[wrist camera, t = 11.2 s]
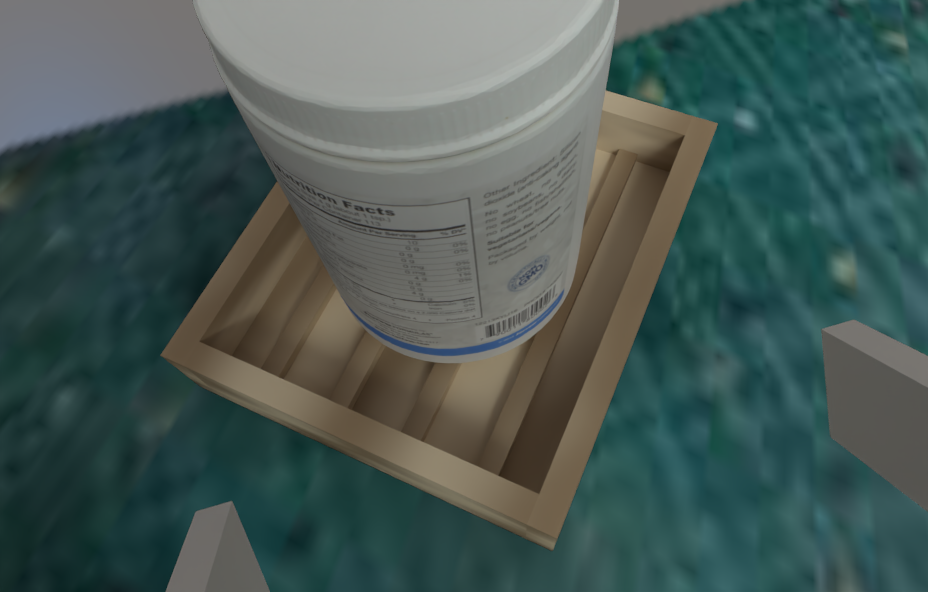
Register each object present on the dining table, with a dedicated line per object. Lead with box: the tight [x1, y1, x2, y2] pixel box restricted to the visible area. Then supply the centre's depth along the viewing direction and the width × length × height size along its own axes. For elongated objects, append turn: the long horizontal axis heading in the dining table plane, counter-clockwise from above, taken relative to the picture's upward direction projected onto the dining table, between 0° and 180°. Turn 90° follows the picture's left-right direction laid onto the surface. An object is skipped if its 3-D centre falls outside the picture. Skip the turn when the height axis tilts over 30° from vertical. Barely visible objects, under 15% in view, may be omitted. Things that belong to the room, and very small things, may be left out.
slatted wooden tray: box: [161, 91, 718, 551], centre depth 28 cm, size 15×17×4 cm
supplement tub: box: [192, 0, 619, 363], centre depth 21 cm, size 10×10×15 cm
